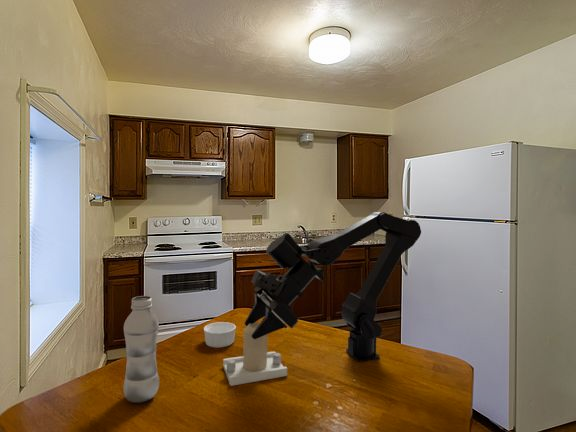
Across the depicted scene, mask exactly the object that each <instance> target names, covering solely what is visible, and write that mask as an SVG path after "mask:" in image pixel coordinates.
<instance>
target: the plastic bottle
mask: <svg viewBox="0 0 576 432" xmlns="http://www.w3.org/2000/svg"><path fill="white" fill-rule="evenodd" d="M152 300H153V299H152V296H151V295H138V296H135V297H132V298H131V305H130V309H131V312H130V314H129V315H128V316H127V318H126V319H125V321H124V324H123V335H124V339H125V348H126V349H125V350H126V351H125V352H126V365H125V366H126V369H125V376H124V382H123V387H122V389H123V394H124V398H126V400H127V401H128V402H130V403H134V404H136V403H137V404H140V403H144V402H148V401H150V400H151V399H153V398H154V397H155V396H156V394H157V393H158V391H159V387H160V377H159V372H158V367H157V366H158V365H157V355H156V354H157V339H158V334H159V324H160V323H159V320H158V319H159V318H158V317H157V315H156V314H155V312H154V311H153V310H152V308H153V301H152Z"/></svg>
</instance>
